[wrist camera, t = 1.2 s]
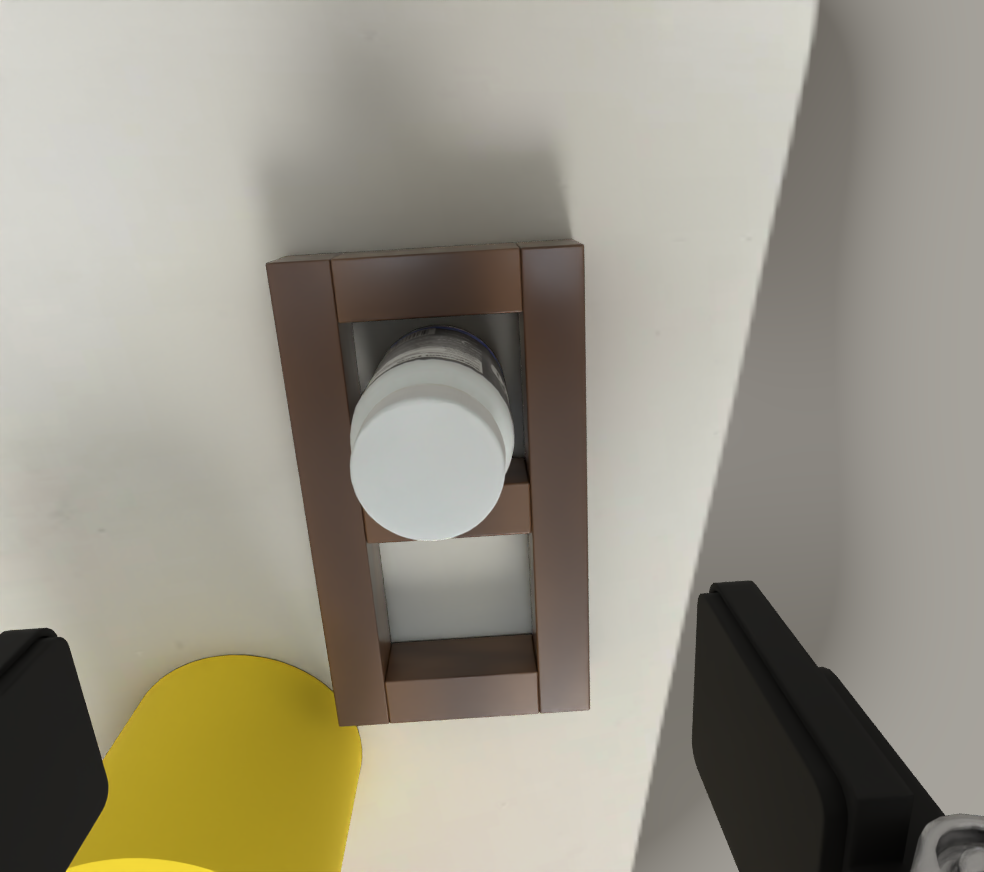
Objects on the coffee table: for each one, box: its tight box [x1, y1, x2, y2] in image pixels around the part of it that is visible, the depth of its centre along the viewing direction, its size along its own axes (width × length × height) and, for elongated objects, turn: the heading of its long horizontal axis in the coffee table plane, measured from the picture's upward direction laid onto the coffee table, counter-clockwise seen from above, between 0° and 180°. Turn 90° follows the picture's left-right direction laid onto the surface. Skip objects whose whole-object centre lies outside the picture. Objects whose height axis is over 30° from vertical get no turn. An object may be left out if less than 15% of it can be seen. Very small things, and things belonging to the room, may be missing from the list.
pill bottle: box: [350, 325, 514, 541], centre depth 22 cm, size 5×5×8 cm
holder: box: [266, 239, 590, 727], centre depth 26 cm, size 10×18×2 cm, turn 3°
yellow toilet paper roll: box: [66, 655, 362, 872], centre depth 26 cm, size 10×10×9 cm
